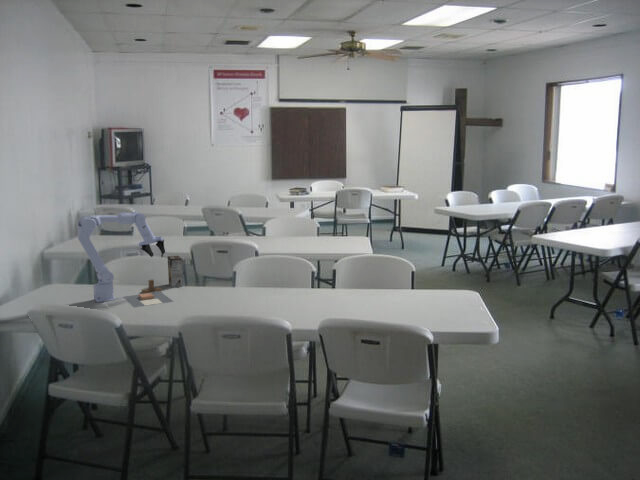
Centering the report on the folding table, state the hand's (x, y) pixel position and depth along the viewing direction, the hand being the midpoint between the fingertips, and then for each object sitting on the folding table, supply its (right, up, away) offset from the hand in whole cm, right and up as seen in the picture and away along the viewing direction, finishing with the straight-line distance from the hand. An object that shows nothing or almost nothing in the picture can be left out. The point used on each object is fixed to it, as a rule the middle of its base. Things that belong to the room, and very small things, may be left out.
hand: (158, 254), depth 329 cm
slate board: (-2, -23, -13) cm, 26 cm away
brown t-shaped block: (-4, -21, +2) cm, 21 cm away
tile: (-4, -22, -10) cm, 25 cm away
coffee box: (+5, -18, +17) cm, 25 cm away
